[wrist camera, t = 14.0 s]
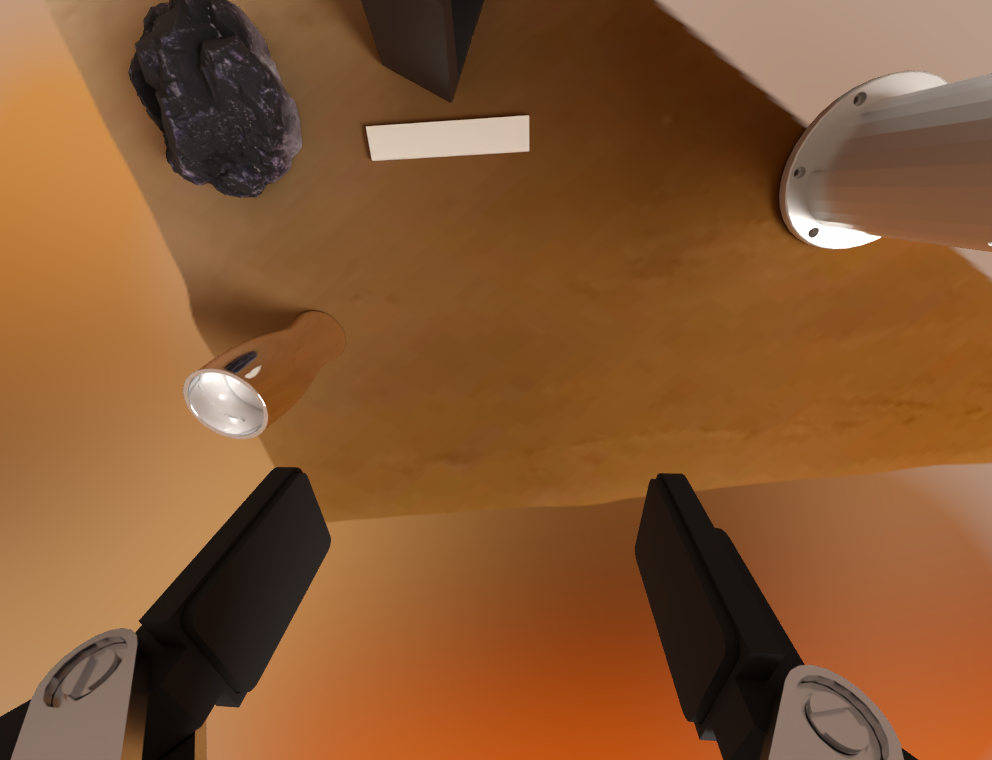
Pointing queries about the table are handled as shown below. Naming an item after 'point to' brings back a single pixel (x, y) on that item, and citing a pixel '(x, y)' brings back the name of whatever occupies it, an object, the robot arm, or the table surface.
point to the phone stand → (424, 39)
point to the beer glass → (263, 376)
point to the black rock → (215, 96)
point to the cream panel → (449, 138)
